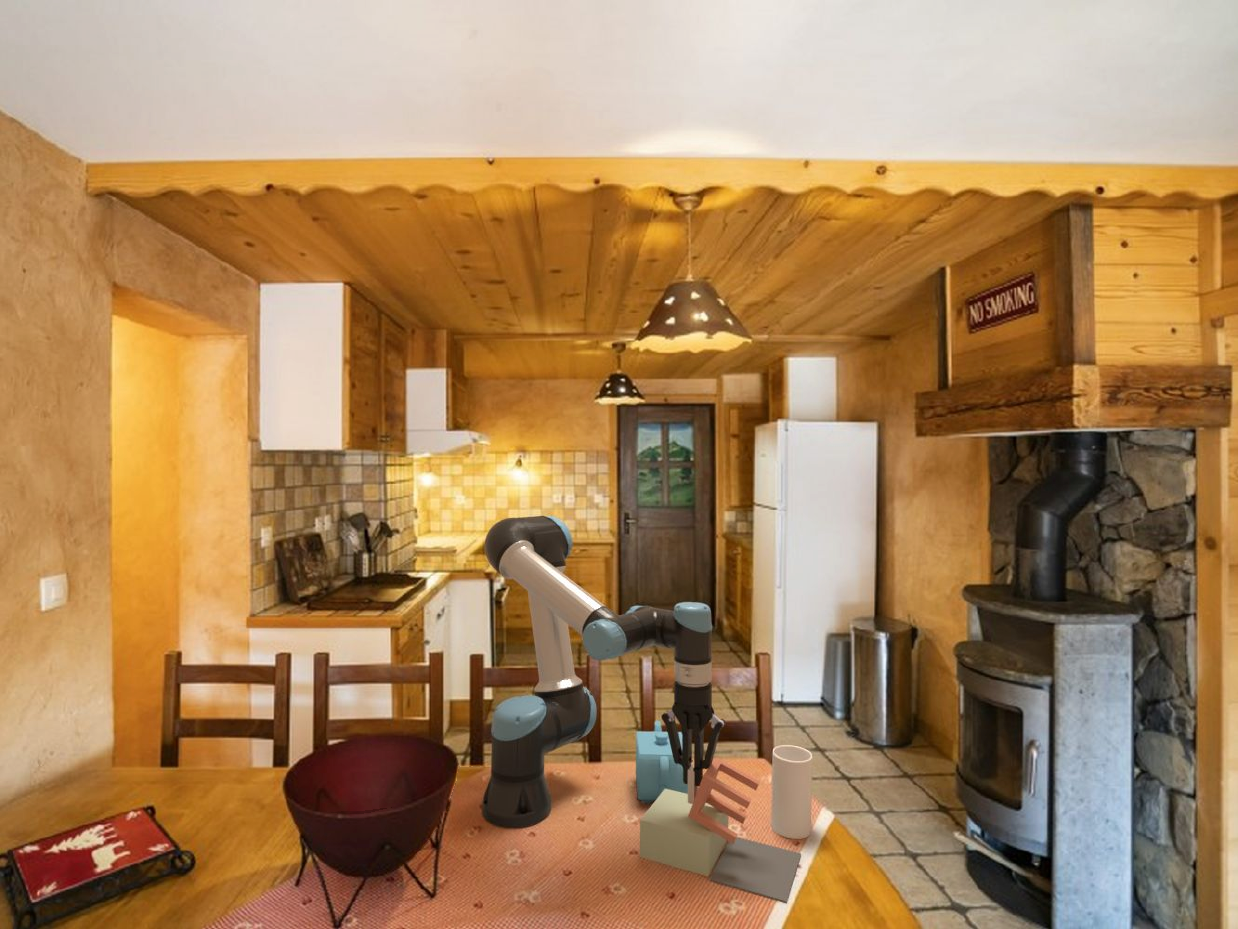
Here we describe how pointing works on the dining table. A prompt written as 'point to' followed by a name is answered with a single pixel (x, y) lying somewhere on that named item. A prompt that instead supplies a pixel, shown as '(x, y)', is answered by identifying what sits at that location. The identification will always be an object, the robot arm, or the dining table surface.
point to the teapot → (656, 765)
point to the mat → (757, 868)
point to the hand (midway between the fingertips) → (693, 800)
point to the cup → (791, 791)
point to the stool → (705, 797)
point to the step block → (680, 834)
